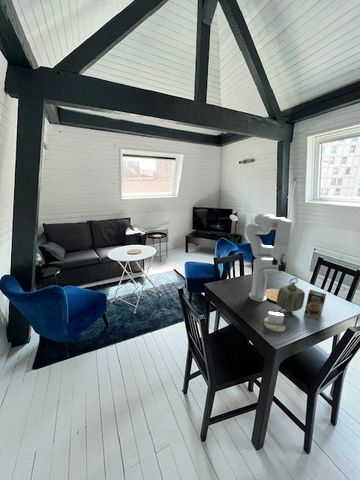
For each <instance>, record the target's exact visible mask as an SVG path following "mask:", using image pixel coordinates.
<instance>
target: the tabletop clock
mask: <svg viewBox="0 0 360 480" xmlns="http://www.w3.org/2000/svg"><path fill="white" fill-rule="evenodd" d="M293 280H296V281H295V282H294V281H293ZM298 281H299V280H298V278H297V277H293V278H290V281H289V285H284V286H281V287H280V288H279V289H278V292H277V297H276V306H278V307H279V308H280V309H278V312H277V313H282V312H281V311H282V310H284V311H285V312H287V313H289V314H290V315H291V316H292V315H293V314H294V313H293V312H296V311H299V310H301V309H302V308H303V306H304V303H305V296H306V294H305V291H304V290H303V289H301V288H299V287H297V286H296V284H297V283H298ZM291 282H292V283H291Z"/></svg>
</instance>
